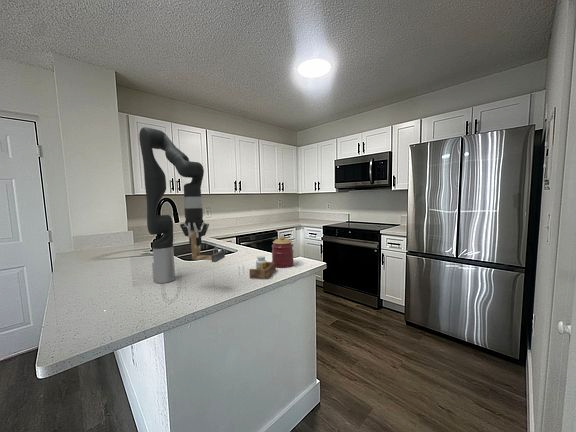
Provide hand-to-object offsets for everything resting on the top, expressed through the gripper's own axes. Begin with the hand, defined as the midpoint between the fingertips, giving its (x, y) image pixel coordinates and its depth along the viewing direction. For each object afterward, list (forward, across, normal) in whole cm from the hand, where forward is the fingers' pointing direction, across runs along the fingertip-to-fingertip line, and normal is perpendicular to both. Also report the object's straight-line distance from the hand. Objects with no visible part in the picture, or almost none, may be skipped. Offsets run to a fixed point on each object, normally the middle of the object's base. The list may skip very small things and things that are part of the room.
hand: (195, 245), depth 111 cm
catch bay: (+20, +23, +25) cm, 39 cm away
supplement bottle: (+20, +22, +25) cm, 39 cm away
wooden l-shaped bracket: (+6, +5, 0) cm, 8 cm away
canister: (+20, +29, +43) cm, 56 cm away
